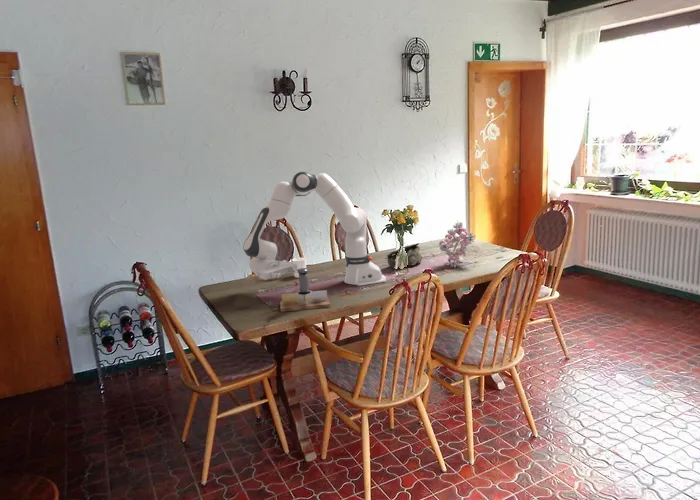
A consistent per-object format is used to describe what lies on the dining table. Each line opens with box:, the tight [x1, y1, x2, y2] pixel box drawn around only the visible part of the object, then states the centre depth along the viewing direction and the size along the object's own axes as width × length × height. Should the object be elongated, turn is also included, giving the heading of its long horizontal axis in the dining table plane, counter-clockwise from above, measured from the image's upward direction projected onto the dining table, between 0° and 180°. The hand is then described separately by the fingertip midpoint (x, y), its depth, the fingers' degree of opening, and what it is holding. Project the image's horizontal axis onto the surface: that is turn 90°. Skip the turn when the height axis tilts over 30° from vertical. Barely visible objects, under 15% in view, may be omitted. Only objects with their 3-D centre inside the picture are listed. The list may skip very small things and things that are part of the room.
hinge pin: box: [297, 267, 309, 295], centre depth 250 cm, size 5×5×16 cm
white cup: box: [291, 257, 307, 279], centre depth 302 cm, size 8×8×10 cm
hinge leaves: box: [281, 289, 328, 305], centre depth 251 cm, size 21×8×5 cm, turn 98°
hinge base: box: [280, 296, 331, 313], centre depth 252 cm, size 23×11×2 cm, turn 98°
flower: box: [436, 219, 476, 268], centre depth 308 cm, size 20×22×25 cm
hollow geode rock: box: [384, 242, 423, 270], centre depth 310 cm, size 28×13×15 cm
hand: (287, 273), depth 258 cm, fingers open, 8 cm apart
